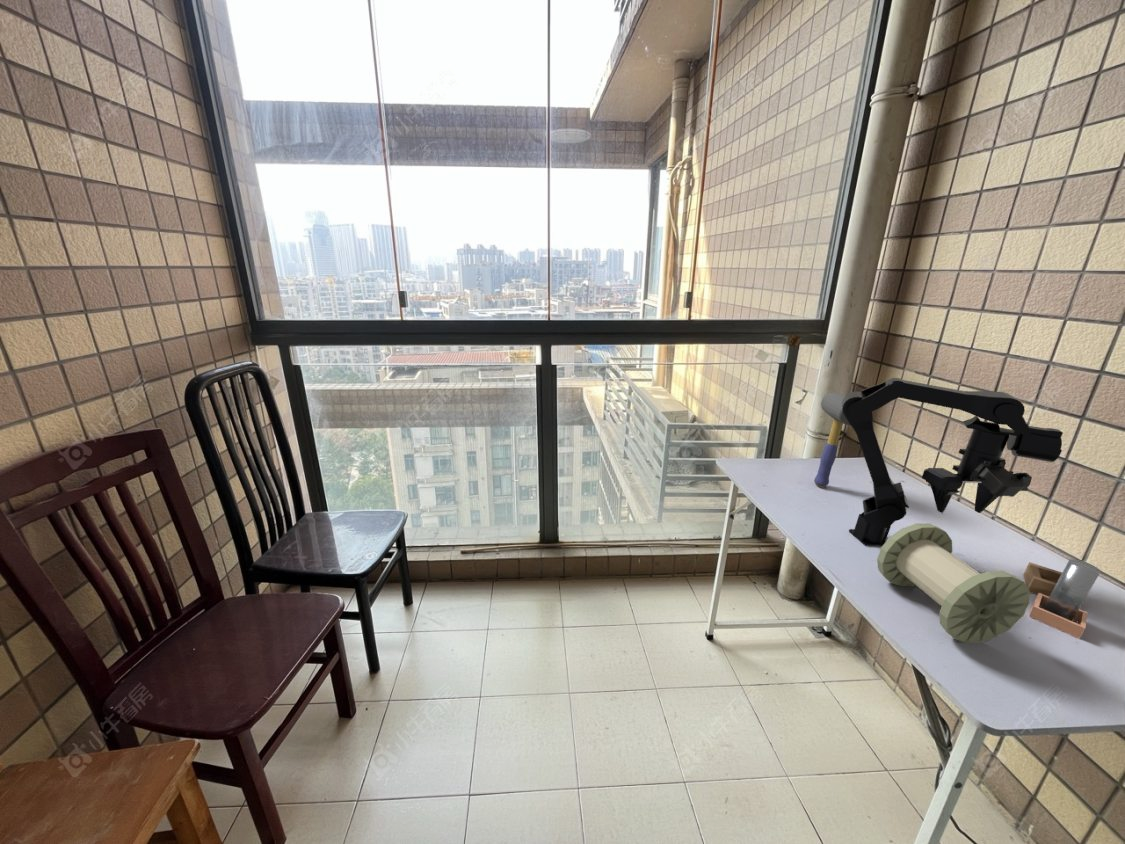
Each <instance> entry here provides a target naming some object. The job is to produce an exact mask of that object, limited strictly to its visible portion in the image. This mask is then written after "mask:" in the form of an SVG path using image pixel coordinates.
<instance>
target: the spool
mask: <svg viewBox="0 0 1125 844" xmlns="http://www.w3.org/2000/svg"><path fill="white" fill-rule="evenodd" d="M952 552H953V540H952V539H951V537H950V536H949V534H948V533H947V531H945V530H944V529H943V528H941V527H938V526H936V525H934V524H932V523H927V522H925V523H924V522H922V523H920V522H919V523H916V522H915V523H914V524H911V525H907V526H905V527H902V528H900V530H898V531H896V532H895V533H894V534H892V535H891V536H889V537H888V539H886V542H885V544H884V545H883V546H881V548H880V550H879V553H878V555H877V558H876V562H877V569H878V572H879V573H880V574H881V575H882V576H883V577H884V579H886V580H887V581H888V582H889V583H891V584H893V585H896V586H899V587H911V586H910V585H914V586H916V587H918V588H919V589H920V590H921V591H923V592H924V593H925V594H926V595H927V596H929V597H930V599H932V600H933V601H934V602H935V603H937V604H938V605H939V606H941V608H940V610H939V614H938V615H939V624H940V625H941V627H942V629H944V631H945V632H946V633H947V634H948V635H949V636H951V637H952V638H953V640H954V639H955V640H957V641H959V642H962V643H967V644H968V643H969V644H970V643H983V642H986V641H988V640H989V641H990V640H993V639H994V638H997V637H999V636H1000V635H1003V634H1004V633H1006V632H1008V631H1009V630H1010V629H1012V628H1013V627H1014V626H1015V625H1016V624H1017V623H1018V622H1019V621H1020V620H1021V619H1022V617H1024V615H1025V612H1026V610H1027V609H1028V607H1029V605H1030V599H1031V598H1030V597H1031V593H1030V591H1029V589H1028V587H1027V586H1026V584H1025V581H1024V580H1022V579H1020V578H1019V577H1018V576H1015V575H1013V574H1011V573H1009V572H1006V571H1004V570H991V571H990V570H988V571H985V572H982V573H980V572H979V571H977V570H976V569H974V568H973V567H971V566H969V565H968V564H967V563H965V562H964V561H963V560H961V559H959V558H958V557H957V556H955V555H954V554H952ZM908 585H909V586H908Z"/></svg>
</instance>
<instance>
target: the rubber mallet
mask: <svg viewBox="0 0 1125 844" xmlns="http://www.w3.org/2000/svg"><path fill="white" fill-rule="evenodd" d="M846 395H847V394H844V393H840V392H837V391H833V392H832V391H831V392H828V393H827V394H825V395H824V396H823V397H822V398H821V401H820V406H821V409H822V410H823V412H825V413H826V414H827V415H828V416H829V417H830V418H832V419H833V421H832V425H831V428H830V432H829V435H828V439H827V441H826V443H825V445H824V447H823V450H822V451H821V452H822V453H821V454H820V462H819V466H818V469H817V474H816V476H815V477H814V479H813V480H814V481H813V482H814V484H815V486H817V487H818V488H826V487H827V486H828V485H829V484H830V475H831V471H832V467H833V466H834V463H835V461H836V458H837V451H838V442H839V438H840V434H841V431H842V426H843V425H847V426H851V425H850V424H849V422H848V420H847V419H846V417H845V415H844V414H843V410H842V400H843V398H844V397H845V396H846Z"/></svg>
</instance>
